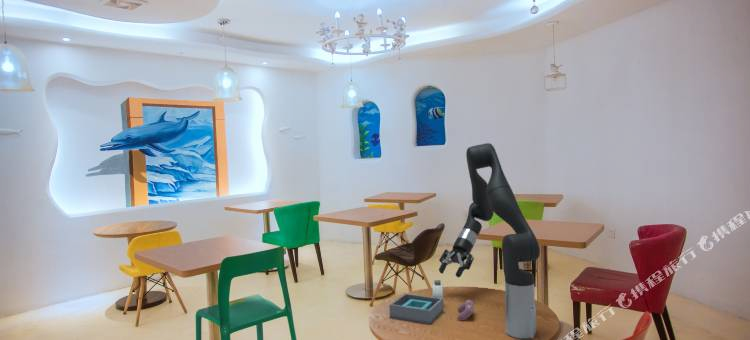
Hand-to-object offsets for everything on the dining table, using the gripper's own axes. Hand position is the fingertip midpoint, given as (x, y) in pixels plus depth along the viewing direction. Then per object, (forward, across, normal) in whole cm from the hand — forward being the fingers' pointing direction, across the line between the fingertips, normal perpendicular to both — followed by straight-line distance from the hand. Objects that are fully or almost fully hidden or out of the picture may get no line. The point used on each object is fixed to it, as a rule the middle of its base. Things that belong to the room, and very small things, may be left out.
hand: (448, 274), depth 180 cm
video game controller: (+14, +14, +2) cm, 20 cm away
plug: (+13, 0, +3) cm, 13 cm away
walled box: (+22, 0, -6) cm, 23 cm away
